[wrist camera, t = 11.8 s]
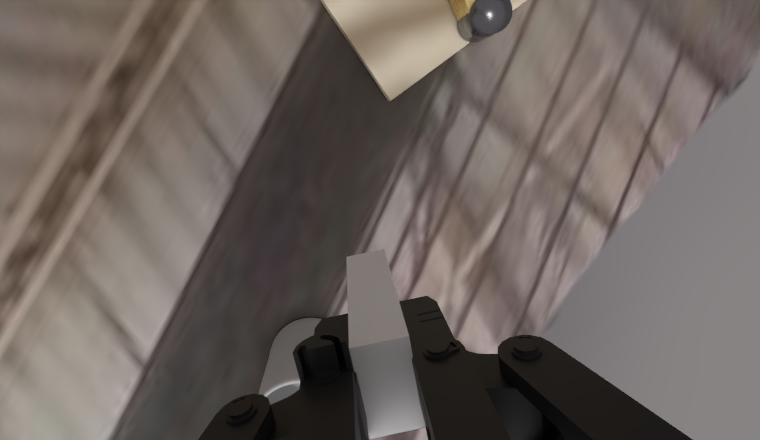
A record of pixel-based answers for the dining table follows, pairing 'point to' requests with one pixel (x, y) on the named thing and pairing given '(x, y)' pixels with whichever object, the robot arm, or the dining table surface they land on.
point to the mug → (285, 360)
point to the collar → (481, 17)
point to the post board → (399, 37)
